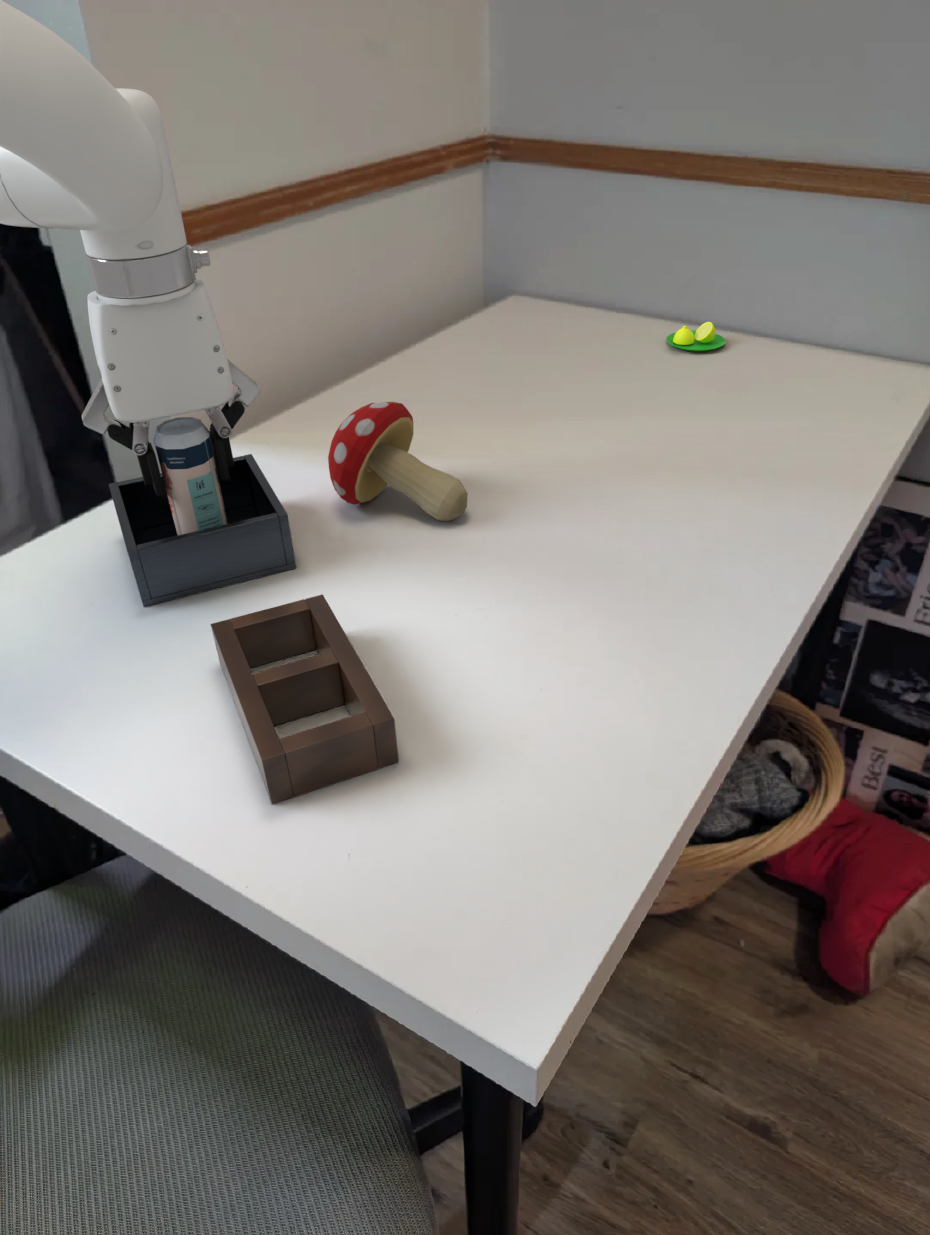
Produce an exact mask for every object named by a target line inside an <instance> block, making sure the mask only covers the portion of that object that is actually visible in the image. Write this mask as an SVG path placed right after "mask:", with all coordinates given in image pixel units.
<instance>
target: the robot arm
mask: <svg viewBox="0 0 930 1235" xmlns="http://www.w3.org/2000/svg"><path fill="white" fill-rule="evenodd" d="M0 224H1V225H4V226H12V227H21V228H35V229H36V228H37V229H48V230H49V229H61V230H75V231H79V232H80V236H81V239H82V240H81V241H82V244H83V248H84V251H85V255H86V260H87V263H88V266H89V271H90V274H91V279H92V282H93V285H94V289H95V290H93V291H91V292H89V293H88V294H87V313H88V322H89V329H90V335H91V341H92V345H93V351H94V355H95V359H96V364H97V367H98V372H99V377H100V380H99V381H98V383H97V385H96V387H95V389H94V391H93V393H92V394H91V396H90V398H89V400H88V402H87V404H86V406H85V407H84V410H83V411H82V414H81V420H82V424H83V426H84V427H86V428H88V429H90V430H93V431H94V432H97V433H98V434H101V435H103V436H104V435H105V436H107V437H109V438H110V439H111V440H112V441H114V442H116V443H118V444H120V445H122V446H124V448H127V449H129V450H130V451H132V452H133V453H134V455H136V457H137V461H138V464H139V468H140V472H141V477H143V480H144V483H145V485H148V484H153V486H154V489H155V491H156V494H157V496H160V495H163V493H165V491H164V487H163V483H162V479H161V475H160V473H161V471H160V466H159V462H158V458H157V454H156V453H155V450H154V447H153V445H152V442H150V440H149V433H150V422H151V421H154V420H159V419H164V418H169V417H174V416H180V415H185V414H190V413H195V412H200V411H204V412H205V413H206V416H207V417H208V419H209V420H210V422H211V423H210V424H209V426H210V427H209V433H210V436H209V437H210V442H211V447H212V452H213V456H214V461H215V466H216V470H217V472H218V474H219V476H220V477H221V479H222V480H224V481H229V480H230V475H229V470H228V467H233V466H234V460H233V458H234V456H233V450H232V446H231V445H232V444H231V440H230V437H231V436H232V434H233V429H234V428H235V426H236V425H237V423H238V422H239V421H240V419H241V418H242V416H243V415H244V413H245V411H246V409H247V408H248V407H249V406H251V404H252V403H253V402H254V401H255V400H256V399H257V398H258V396H259V395H260V394H261V387H260V386H259V384H258V383H257V382H256V381H255V380H254V379H253V378H251V377H250V376H249V375H248V374H247V373H246V372H245V371H243V370H242V369H241V368H239V367H238V366H237V365H236V364H235V363H233V362H232V361H231V360H230V359H228V356H227V351H226V348H225V344H224V342H223V341H224V340H223V336H222V333H221V329H220V325H219V322H218V320H217V318H216V314H215V311H214V308H213V305H212V301H211V299H210V296H209V293H208V291H207V288H206V286H205V283H204V282H203V280H202V278H199V277H196V274H197V273H198V270H201V269H202V267H208V266H209V267H210V266H211V258H210V254H209V251H208V249H207V247H203V248H198V247H196V246H195V247H193V246H192V245H191V244H188V242H187V236H186V230H185V226H184V221H183V216H182V211H181V205H180V201H179V196H178V190H177V185H176V181H175V175H174V170H173V166H172V160H171V155H170V150H169V146H168V140H167V136H166V131H165V125H164V121H163V117H162V114H161V110H160V107H159V106H158V104H157V102H156V100H155V99H154V97H153V96H151V95H150V94H149V93H147V92H145V91H143V90H139V89H136V88H123V87H120V88H119V87H118V88H117V87H115V86H114V85H112V84H111V82H109V80H107V79H106V77H104V76H103V75H102V73H101V72H100V71H99V70H98V69H97V68H96V67H95V66H93V64H92V63H91V62H90V61H89V60H88V59H87V58H86V57H85V56H84V55H82V54H81V53H80V52H79V51H78V50H77V49H76V48H75V47H73V46H72V45H71V44H70V43H68V42H67V41H66V40H65V39H63V38H62V37H60V36H59V35H58V34H57V33H55V32H54V31H53V30H51V29H50V28H48V27H47V26H45V25H44V24H42V23H40V21H38V20H36V19H34V18H32V17H31V16H29V15H28V14H27V13H25V12H23V11H21V10H20V9H18V8H16V7H14V6H12V5H11V4H9V3H7V2H6V1H4V0H0ZM234 386H235V387H237V390H236V391H235V393H234ZM221 406H222V408H220V407H221ZM109 407H110V409H111V412H112V414H113V416H114V418H115V419H113V418H110V417H109V416H108V415H106V414H105V413H106V412H107V409H108V408H109ZM122 422H123V423H122ZM124 423H128V426H127V425H126V424H124Z"/></svg>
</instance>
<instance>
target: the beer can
mask: <svg viewBox="0 0 930 1235" xmlns="http://www.w3.org/2000/svg"><path fill="white" fill-rule="evenodd" d="M155 428H156V429H155V433H154V435H153V438H152V440H153V444H154V447H155V451H156V456H157V460H158V464H159V468H160V470H161V471H160V472H161V473H162V475H163V479H164V483H165V487H166V491H167V495H168V499H169V503H170V507H171V511H172V515H173V519H174V523H175V527H176V531H177V535H182V534H187V533H191V532H195V531H200V530H204V529H208V528H212V527H217V526H221V525H225V524H228V522H227V517H226V513H225V508H224V503H223V499H222V494H221V489H220V484H219V480H218V475H217V470H216V466H215V461H214V456H213V452H212V447H211V442H210V437H209V436H210V433H209V431H210V429H208V427H207V426H206V425H205V424H204V423H203V422H202V419H200V418H196V417H193V416H182V417H181V416H178V417H175V418H170V419H167V420H164V421H162V422H161V423H159V424H158V425H156V427H155Z"/></svg>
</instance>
